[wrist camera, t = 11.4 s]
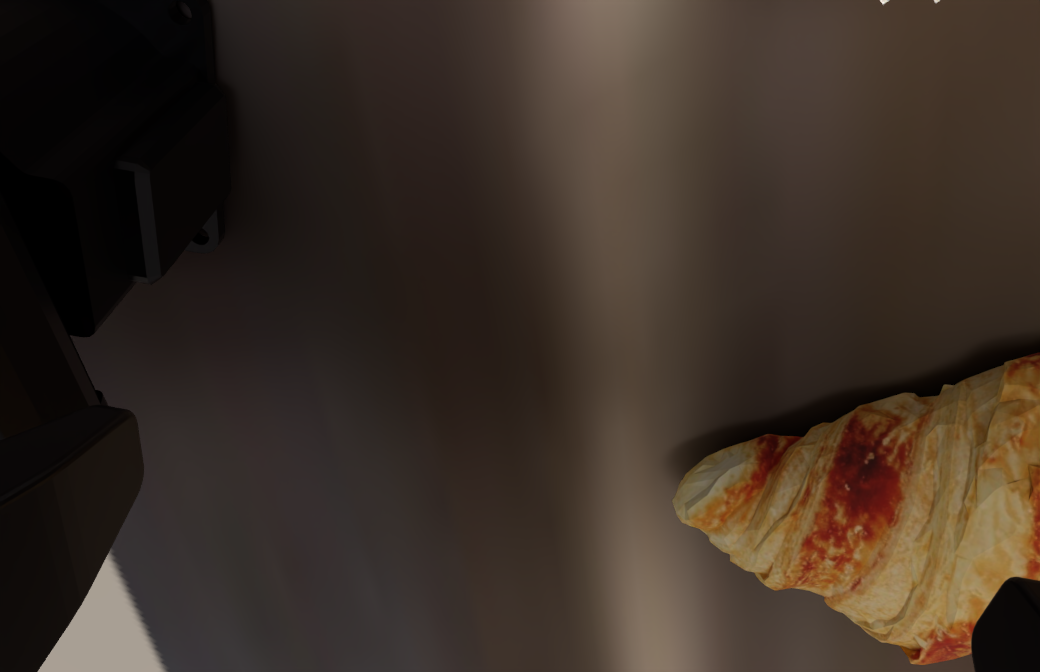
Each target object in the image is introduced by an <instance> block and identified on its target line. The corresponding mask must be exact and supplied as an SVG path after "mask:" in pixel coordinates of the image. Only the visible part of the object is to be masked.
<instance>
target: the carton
mask: <svg viewBox="0 0 1040 672" xmlns="http://www.w3.org/2000/svg"><path fill="white" fill-rule="evenodd" d="M880 1H881V3H882V4H885V3H886V2H888V1H889V0H880ZM938 1H940V0H934V2H935V3H937V2H938Z"/></svg>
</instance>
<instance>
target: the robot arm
mask: <svg viewBox="0 0 1040 672" xmlns="http://www.w3.org/2000/svg"><path fill="white" fill-rule="evenodd" d="M177 1H181V2H183V3H185V4H186V5H187V6H188V7H189V8H190V10H191V13H192V18H191V19H187V18H185V17H183V16H182V15H181V14H180V13H179V12H178V10H177V7H176V2H177ZM230 191H231V178H230V161H229V144H228V127H227V110H226V97H225V95H224V94H223V92H222V91H221V89H220V88H219V87H218V85H216V84H215V72H214V57H213V42H212V26H211V11H210V7H209V3H208V1H207V0H0V672H37V671H38V670H39V669H40V667H41V666H42V664H43V662H44V661H45V660H46V658H47V657H48V655H49V654H50V652H51V650H52V649H53V648H54V646H55V645H56V643H57V642H58V640H59V638H60V637H61V636H62V634H63V633H64V631H65V630H66V628H67V627H68V625H69V624H70V622H71V620H72V619H73V617H74V616H75V614H76V612H77V610H78V609H79V608H80V606H81V605H82V602H83V601H84V599H85V597H86V595H87V594H88V592H89V590H90V588H91V586H92V584H93V582H94V580H95V578H96V576H97V574H98V572H99V570H100V568H101V566H102V564H103V562H104V560H105V559H106V557H107V555H108V553H109V551H110V549H111V547H112V545H113V543H114V541H115V539H116V537H117V535H118V533H119V531H120V529H121V527H122V525H123V523H124V521H125V519H126V517H127V515H128V513H129V511H130V509H131V507H132V505H133V503H134V501H135V499H136V497H137V495H138V493H139V491H140V488H141V485H142V481H143V475H144V463H143V457H142V450H141V443H140V437H139V430H138V423H137V419H136V417H135V415H134V414H133V413H132V412H131V411H129V410H126V409H121V408H115V407H110V406H108V404H107V402H106V400H105V398H104V395H103V393H102V392H101V391H98V390H95V388H94V386H93V384H92V382H91V380H90V378H89V376H88V373H87V371H86V369H85V367H84V365H83V363H82V361H81V359H80V357H79V354H78V352H77V350H76V348H75V346H74V344H73V342H72V340H71V337H70V335H73V336H79V337H90V336H91V335H93V334H94V333H95V332H96V331H97V329H98V328H99V327H100V326H101V325H102V323H103V322H104V321H105V320H106V319H107V317H108V316H109V315H110V314H111V313H112V311H113V310H114V309H115V308H116V306H117V305H118V304H119V303H120V302H121V300H122V299H123V298H124V297H125V296H126V294H127V293H128V292H129V291H130V290H131V288H132V287H133V286H134V285H135V284H136V282H139V283H145V284H150V285H152V284H153V283H155V282H156V281H157V280H159V279H160V278H161V277H163V276H164V275H165V274H166V272H167V271H168V270H169V268H170V267H171V266H172V265H173V263H174V262H175V261H176V260H177V258H178V257H179V256H180V255H181V253H182V252H183V251H184V250H186V251H192V252H197V253H209V252H212V251H214V250H215V249H216V247H217V246H218V245H219V243H220V242H221V241H222V239H223V238H224V233H225V226H224V211H223V201H224V199H225V198H226V197H227V196H228V194H229V193H230ZM201 228H202V229H204V230H205V231H206V232H207V233H208V236H209V237H205V236H203V235H201V234H200V233H199V231H200V230H201ZM971 652H972V658H973V664H974V669H975V672H1040V581H1039V580H1033V579H1028V578H1023V577H1011V578H1009V579H1007V580H1006V581H1005V582H1004V583H1003V584H1002V585H1001V587H1000V588H999V590H998V591H997V593H996V594H995V596H994V597H993V599H992V600H991V601H990V603H989V604H988V606H987V607H986V609H985V610H984V612H983V613H982V615H981V616H980V618H979V619H978V621H977V622H976V624H975V626H974V629H973V632H972V638H971Z"/></svg>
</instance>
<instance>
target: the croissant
mask: <svg viewBox="0 0 1040 672" xmlns="http://www.w3.org/2000/svg"><path fill="white" fill-rule="evenodd" d="M672 502H673V505H674V508H675V511H676V514H677V516H678V517H679V519H680V520H681V522H682V523H684V524H687V525H689V526H692V527H695V528H699V529H700V530H702V531H703V532H704V533H705V534H707V535H708V538H709V540H710V542H711V543H712V544H714V545H715V546H716V547H717V548H719V549H720V550H721V551H723V552H725V553H728V554H730V561H731V562H733V563H734V564H736V565H738V566H739V567H741V568H742V569H744V570H746V571H750V572H754V573H755V575H756V577H757V578H758V579H759V580H760V581H761V582H762V583H763V584H764V585H766V586H767V587H769V588H771V589H773V590H782V589H788V588H796V589H802V590H808V591H812V592H814V593H817V594H819V595H822V596H824V597H825V599H824V601H825V602H826V603H827V605H828V606H829V607H831V608H832V609H834V610H835V611H838V612H841V613H844V614H845V615H846V616H847V617H848V618H850V619H851V620H852V621H853V622H854V623H856V624H858V625H859V626H860V627H861V628H862V629H863V630H864V631H865V632H867V633H868V634H869V635H871V636H872V637H874V638H875V639H877V640H879V641H880V642H886V643H890V644H896V645H899V646H900V647H901V648H902V650H903V651H904V652H905V654H906V655H907V656H908V658H909V660H910V663H911V664H920V665H925V664H930V663H936V662H941V661H946V660H951V659H956V658H959V657H962V656H965V655H968V654H972V652H971V638H972V632H973V629H974V626H975V624H976V622H977V621H978V619H979V618H980V616H981V615H982V613H983V612H984V610H985V609H986V607H987V606H988V604H989V603H990V601H991V600H992V599H993V597H994V596H995V594H996V593H997V591H998V590H999V588H1000V587H1001V585H1002V584H1003V583H1004V582H1005V581H1006V580H1007V579H1009V578H1011V577H1023V578H1028V579H1033V580H1039V581H1040V353H1035V354H1032V355H1028V356H1025V357H1021V358H1018V359H1014V360H1011V361H1007V362H1004V365H1003V366H999V367H996V368H993V369H990V370H988V371H985V372H983V373H980V374H977V375H975V376H972V377H969V378H967V379H964V380H963V381H961V382H959V383H957V384H956V385H943V388H942V390H941V393H940V394H939V396H929V397H918V396H917V395H916V394H915V393H901V394H898V395H895V396H891V397H888V398H885V399H882V400H878V401H875V402H872V403H868V404H864V405H860V406H858V407H857V408H856V409H855V410H853V411H852V412H850V413H848V414H846V415H844V416H842V417H841V418H839V419H838V420H836V421H834V422H833V423H821V424H819V425H817V426H814V427H812V428H811V429H810V430H809V431H808V433H807V434H806V435H805V436H804V437H797V436H779V435H773V434H766V435H763V436H761V437H758V438H755V439H752V440H750V441H747V442H743V443H739V444H736V445H733V446H730V447H727V448H725V449H722V450H720V451H718V452H716V453H713V454H711V455H709V456H707V457H705V458H704V459H703V460H702V461H700V462H699V463H698V464H697V465H696V466H694V467H693V468H692V469H691V470H690V471H688V472H687V473H686V474H685V476H684V478H683V480H682V481H681V482H680V483H679V486H678V490H677V492H676V495H675V497H674V498H673V500H672Z"/></svg>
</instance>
